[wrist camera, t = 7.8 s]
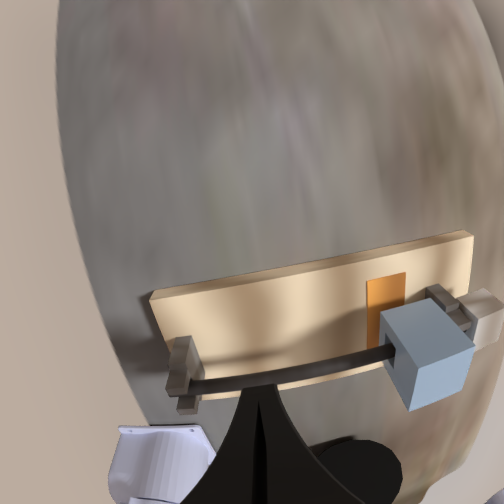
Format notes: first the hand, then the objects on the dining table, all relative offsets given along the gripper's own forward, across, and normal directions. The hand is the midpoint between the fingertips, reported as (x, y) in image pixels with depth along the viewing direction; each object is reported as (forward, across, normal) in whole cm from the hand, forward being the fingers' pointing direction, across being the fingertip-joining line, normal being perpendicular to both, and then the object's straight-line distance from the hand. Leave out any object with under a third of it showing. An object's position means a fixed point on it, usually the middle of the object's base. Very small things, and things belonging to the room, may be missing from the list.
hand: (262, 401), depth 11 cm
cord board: (+10, -5, +4) cm, 12 cm away
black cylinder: (+11, -7, +38) cm, 40 cm away
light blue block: (+7, -10, +4) cm, 13 cm away
